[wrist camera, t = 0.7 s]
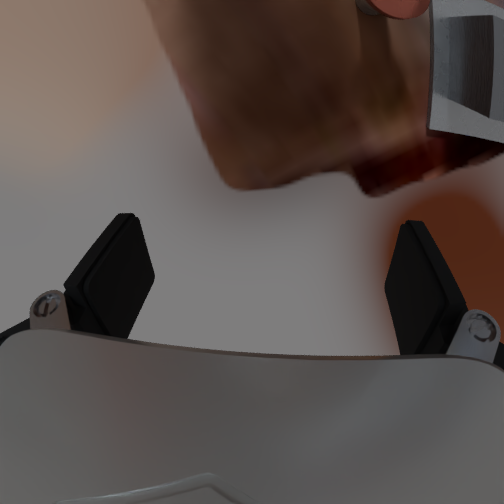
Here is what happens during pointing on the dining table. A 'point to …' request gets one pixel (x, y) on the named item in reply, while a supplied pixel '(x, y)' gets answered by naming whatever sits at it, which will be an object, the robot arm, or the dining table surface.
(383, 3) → the pin
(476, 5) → the receiver
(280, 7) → the dining table surface
